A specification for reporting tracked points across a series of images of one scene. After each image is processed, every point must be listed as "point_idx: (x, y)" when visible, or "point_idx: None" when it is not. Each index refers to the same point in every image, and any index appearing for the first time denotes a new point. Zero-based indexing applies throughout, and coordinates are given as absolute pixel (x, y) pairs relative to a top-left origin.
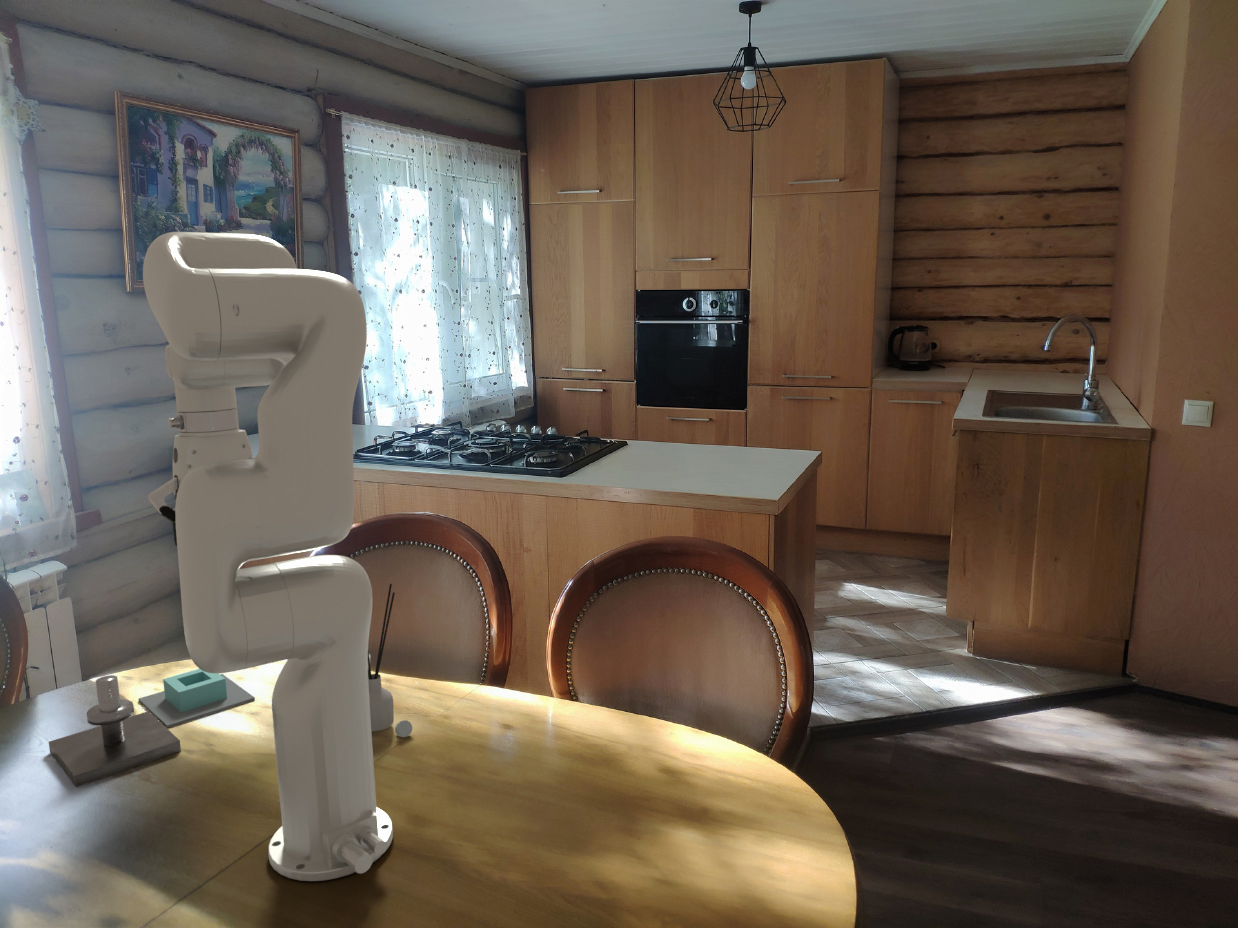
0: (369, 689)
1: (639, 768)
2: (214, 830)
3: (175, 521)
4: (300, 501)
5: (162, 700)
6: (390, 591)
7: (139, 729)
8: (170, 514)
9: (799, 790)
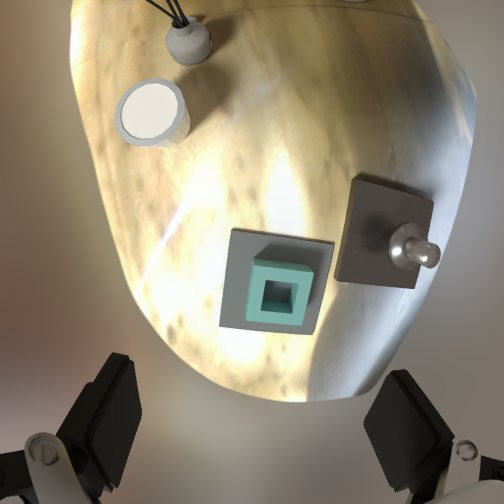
0: (192, 26)
1: None
2: (387, 44)
3: (474, 445)
4: None
5: None
6: None
7: (366, 243)
8: (485, 468)
9: None
